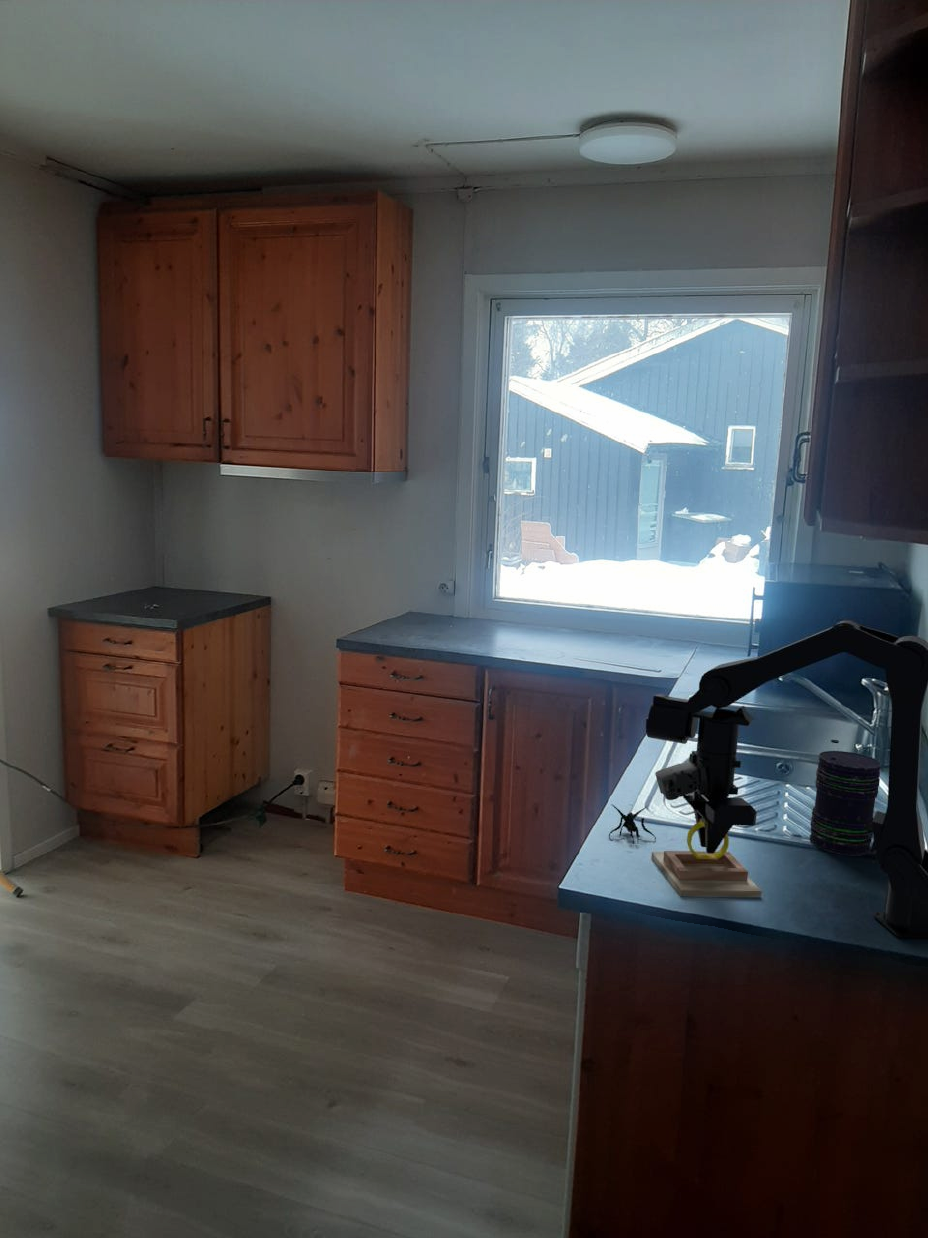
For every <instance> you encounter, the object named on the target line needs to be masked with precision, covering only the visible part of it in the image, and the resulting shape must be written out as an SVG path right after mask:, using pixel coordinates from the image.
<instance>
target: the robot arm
mask: <svg viewBox="0 0 928 1238" xmlns="http://www.w3.org/2000/svg"><path fill="white" fill-rule="evenodd" d="M842 653H846V654H848V655H851V656H853V657H855V658H857V659H860V660H862V661H864V662H866V663H867V664H869V665H872V666H875V667H877V668H881V669H882V670H884V673H885V679H886V686H887V691H888V695H889V700H890V704H891V705H890V706H891V720H890V721H891V723H890V741H889V743H890V744H889V745H890V746H889V764H888V765H889V767H888V784H887V785H888V789H887V806H886V811H885V812H882V811H879V810H876V811H875V814H874V815H873V818H874V819H873V822H872V829H873V841H872V844H871V846H870V847H871V849H870V853H873V852H874V853H875V861H876V864H877V866H878V867H879V868H880V869H881V870H882V871H883V872H884V873H886V874H887V878H888V883H887V885H886V893H885V901H884V908H883V911H884V912H878V911H877V912H875V911H874V912H873V917H874V918H875V919H876V920H877V921H879V923H881V924H882V925H883V926H884V927H885V928H887V929H888V930H889V931H890V932H891V933H892V934H893V935H895V937H897V938H923V939H924V938H927V939H928V850H927V849H926V842H925V841H926V840H925V835H924V829H923V822H922V816H921V812H920V808H919V788H920V787H919V786H920V785H919V784H920V769H921V768H920V766H921V765H920V764H921V744H922V722H923V721H922V720H923V705H924V701H925V697H926V693H927V690H928V641H927V640H926V639H924V638H922V637H919V636H915V635H906V636H904V635H903V636H902V637H900V636H896V635H893V634H891V633H887V632H886V631H885V632H884V631H881V630H877V629H875V628H874V629H873V628H870V627H867V626H864V625H861V624H858V623H857V622H854V621H853V620H847V619H846V620H841V621H839V622H837V623H836V624H835V625H834V626H832V627H829V628H826V629H823V630H821V631H819V632H817V633H814V634H812V635H809V636H806V637H804V638H802V639H800V640H797V641H795V642H793V643H790V644H787V645H785V646H783V647H780V648H777V649H775V650H772V651H771V652H767V653H766V654H763V655H760V656H756V657H752V658H743V659H737V660H735V661H730V662H726V663H721V664H719V665H717V666H715V667H713V668H711V669H709V670H708V671H706V672H705V673H703V675H702V676H701V677H700V680H699V682H698V690H697V691H696V692H695V693H694V694H693V695H691V696H690V697H689V698H688V699H687V698H680V697H672V696H669V695H667V694H663V693H657V694H655V695H654V696H653V697H652V704H651V706H650V708H649V711H648V716H647V717H646V721H645V722H646V723H645V732H646V737H647V738H649V739H650V738H651V739H656V740H661V741H666V742H670V743H671V742H672V743H677V744H678V743H679V744H682V745H686V744H687V743H688V742H689V739H692V740H693V739H695V737H696V735H697V743H696V750H692V751H691V753H690V754H689V759H688V761H687V762H683V763H677V764H674V765H671V766H668V767H665V768H662V769H659V770H657V771H656V772H655V778H656V781H657V784H658V789H659V792H660V794H661V795H663V796H664V797H665V799H666V800H667V801H674V800H678V798H681V797H682V798H683V799H684V800H685V802H687V803H688V805H690V807H691V808H692V809H693V813H694V818H695V822H696V823H698V822H700V819H701V818H703V819H704V821H705V827H701V828H699V829H697V834H698V840H699V843H700V844H699V845H700V846H701V848H705V850H706V851H705V852H707V853H714V852H717V849H718V848H719V847H720V845H721V843H722V842H723V841H724V837H725V836H726V834H727V835H728V833H729V831H730V830H731V829H732V828H733V826H746V827H747V826H748V827H750V826H751V827H752V826H753V827H754V826H755V825H756V823H757V813H758V811H756V809H755V808H754V807H753V806H752V805H751V804H750V803H749V802H748V801H746V799H744V798H743V797H729V796H731V795H734V796H736V795H738V794H739V787H737V786H736V785H735V784H734V782H735V774H736V773H735V771H736V768H741V766H742V765H741V764H742V761H741V760H740V759H739V758H737V752H738V744H739V743H738V741H739V732H740V730H739V729H740V726H743V727H749V726H750V725H751V724H752V723H753V722H755V717H754V716H753V715H751V713H750V712H749V711H748V710H747V708H746V706H745V705H742V706H741V707H739V708H738V709H737V710H735V709H729V708H727V707H729V706H731V705H732V704H734V703H736V702H737V701H740V699H742V698H744V697H745V696H747V695H748V694H751V692H753V691H754V690H756V689H758V688H759V687H761V686H763V685H765V684H766V683H768V682H770V681H772V680H775V679H778V678H780V677H783V676H785V675H788V674H791V673H794V672H796V671H798V670H800V669H803V668H806V667H808V666H810V665H813V664H816V663H818V662H821V661H823V660H826V659H828V658H831V657H833V656H836V655H839V654H842ZM709 707H713V708H715V710H714V711H706V709H708V708H709ZM697 732H698V733H697ZM696 823H695V824H696Z"/></svg>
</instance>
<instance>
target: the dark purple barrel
mask: <svg viewBox="0 0 928 1238" xmlns="http://www.w3.org/2000/svg"><path fill="white" fill-rule="evenodd" d="M830 742H831V743H832V744H839V743H840V741H839V739H830ZM881 767H882V763H881V761H879V759H876V758H874V757H871V756H868V755H865V754H860V753H857V752H849V751H844V750H843V751H841V750H827V751H822V752H820V753H819V755H818V764H817V768H816V774H815V776H816V778H815V779H816V780H815V781H814V782H815V788H816V793H815V802H814V806H813V808H812V810H811V818H810V835H809V842H810V844H812V845H813V846H815V847H817V848H819V849H820V850H823V851H826V852H828V853H832V854H836V855H842V856H843V855H844V856H851V857H852V856H854V857H855V856H856V857H857V856H866V855H868V854H870V853H871V851H870V850H871V847H872V846H871V843H872V842H873V841H872V838H874V836H873V829H872V822H873V819H874V811H875V805H876V804H875V803H876V798H877V797H878V795H879V786H880V782H881V779H880V775H881V773H880V770H881Z"/></svg>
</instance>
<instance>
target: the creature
mask: <svg viewBox="0 0 928 1238" xmlns="http://www.w3.org/2000/svg"><path fill="white" fill-rule="evenodd" d="M610 805H611V806H612V807H613V808H614V809H615V810H616V811H617V812H618V814H619V815H620V816H621V817H620V821H619V825H618V826H617V827H616V828H613V829H612V830H611V831H609V833H608V838H609V840H610V841H611V842H614V840H613V839H611V834H612V833H614V832H616V831H618V830H619V829H620V830H619V836H621V835H622V830H623V827H624V828H626V830H627V832H628V833H630V835H629V837H631V838H632V844H633V845H634V844H635V839H634V835H633V832H634V833H635V836H636V837H637V838H636V839H637V840H636V842H637V843H639V841H644V842H646V843H648V840H644V839H642V838H640V837H641V835H640V834H639V829H638V826H637V825H636V823H635V820H634V819H636V818H637V816H638V815H639V814H641V812H643V811H644V810H645V809H646V808H648V806H645V807H643V808H642V809H640V810H638V811H637V812H635V813H634V814H633V812H629V813H627V814H624V813H623V812H622V811H621V810H619V808H617V806H615V804H610ZM623 821H624V822H623ZM644 821H645V818H644V817H641V819H640V823H641V827H642V829H643V831H644V832H646V833H649V835H651V836H653V837H654V841H653V844H654V843H656V842H657V837H656V836H655V835H654V833H652V831H650V830H648V829H647V828H646V827H645V824H644ZM620 840H625V838H623V837H621V838H620V839H617V840H616V841H620Z"/></svg>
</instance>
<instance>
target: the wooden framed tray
mask: <svg viewBox="0 0 928 1238" xmlns="http://www.w3.org/2000/svg"><path fill="white" fill-rule="evenodd" d="M694 851H695V850H694ZM695 852H696V853H698V854H712V855H714V854H715V853H716V852H717V851H715V852H714V853H707V852H706V851H695ZM650 858H651V859H652V861H653V863H654V864H655V865H656V867H658V869H659V870H660V871H661V873H662V874H663V875H664V877H665V878H666V880H667V881H668V882H669V883H670V884H671V885H672V886H671V887H673V889H674V890H675V891H676V892H677V894H678V895H679V896H680V897H683V898H685V897H687V898H693V897H694V898H698V897H699V898H762V894H763V891H762V890H761V888H759V887H758V885H757V884H755V882H754V881H753V880H752V879H751V878H750V877H749V871H748V869H746V868H745V867H744V866H743V864H742V863H740V862H739V860H738V859H736V857H735V856H734V855H733V854H732V853H730V851H726V852H725V854H724V855H723V856H721V857H720V858H719V859H717V860H716V859H698V858H696V857H695V856H694V855H693V854H692V853H691V851H690V850H689V851H688V850H684V851H683V850H682V851H681V850H664V851H651V857H650Z"/></svg>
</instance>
